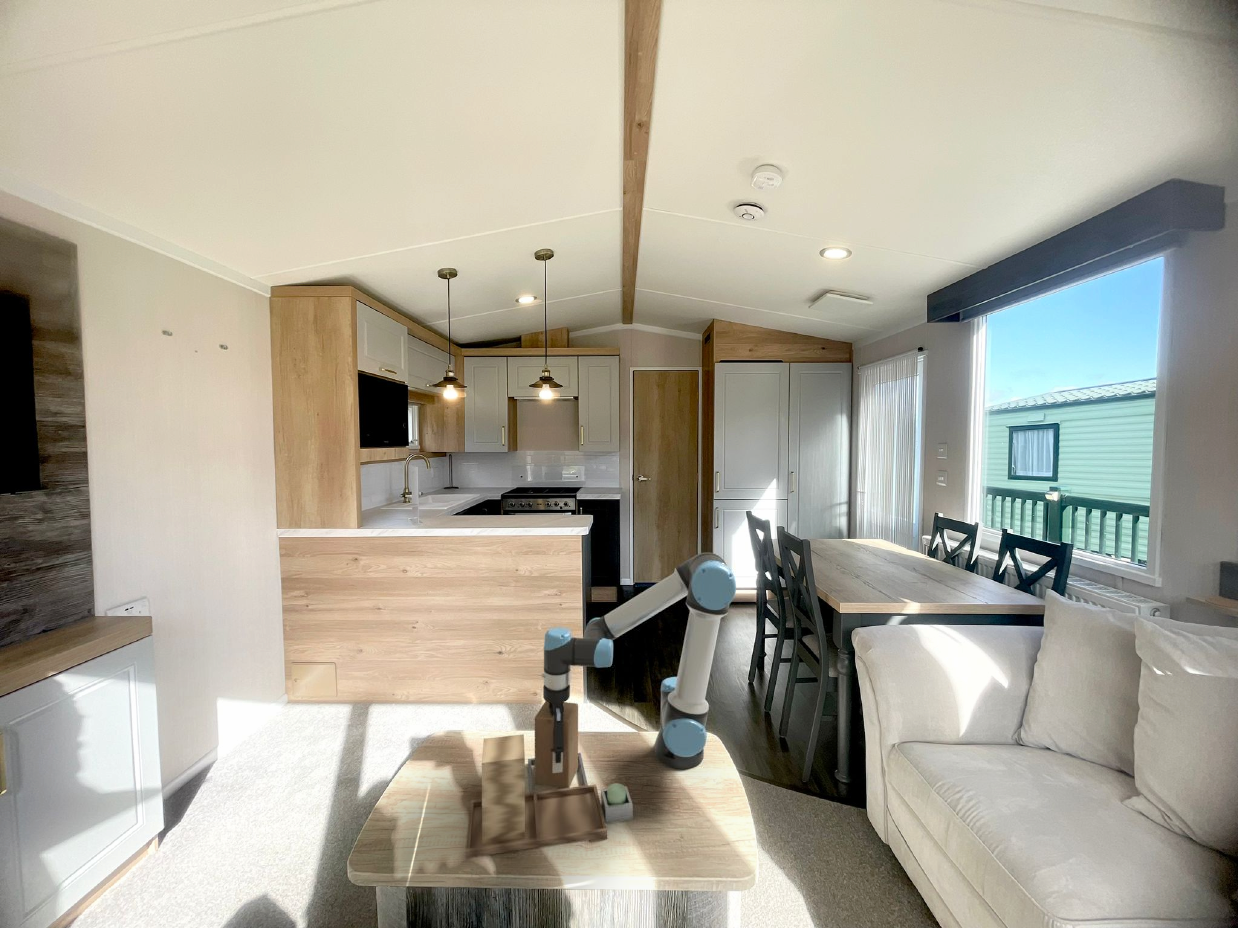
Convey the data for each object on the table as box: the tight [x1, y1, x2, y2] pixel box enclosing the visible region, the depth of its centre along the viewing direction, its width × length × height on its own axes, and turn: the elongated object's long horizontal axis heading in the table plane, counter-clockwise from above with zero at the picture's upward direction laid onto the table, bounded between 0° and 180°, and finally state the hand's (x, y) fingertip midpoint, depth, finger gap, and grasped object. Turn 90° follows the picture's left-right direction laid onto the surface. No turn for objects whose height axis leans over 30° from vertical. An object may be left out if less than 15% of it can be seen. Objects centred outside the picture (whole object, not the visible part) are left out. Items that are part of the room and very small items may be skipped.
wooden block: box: [534, 700, 579, 789], centre depth 149 cm, size 10×10×20 cm
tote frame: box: [527, 752, 589, 793], centre depth 149 cm, size 16×16×2 cm
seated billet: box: [481, 734, 526, 844], centre depth 130 cm, size 10×10×20 cm
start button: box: [606, 782, 626, 806], centre depth 136 cm, size 5×5×4 cm
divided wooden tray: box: [465, 783, 608, 859], centre depth 132 cm, size 33×17×2 cm, turn 102°
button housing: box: [600, 786, 634, 824], centre depth 136 cm, size 7×7×4 cm
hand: (555, 757), depth 149 cm, fingers open, 12 cm apart
